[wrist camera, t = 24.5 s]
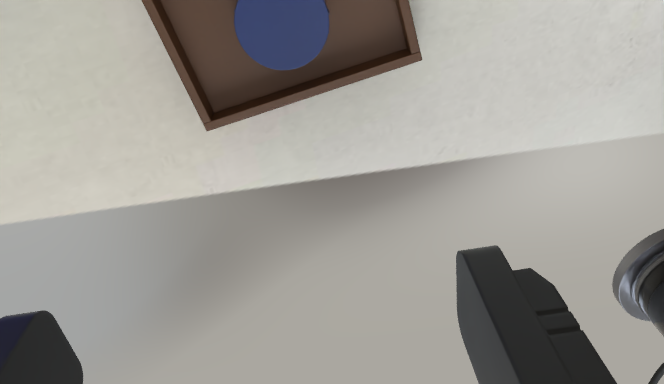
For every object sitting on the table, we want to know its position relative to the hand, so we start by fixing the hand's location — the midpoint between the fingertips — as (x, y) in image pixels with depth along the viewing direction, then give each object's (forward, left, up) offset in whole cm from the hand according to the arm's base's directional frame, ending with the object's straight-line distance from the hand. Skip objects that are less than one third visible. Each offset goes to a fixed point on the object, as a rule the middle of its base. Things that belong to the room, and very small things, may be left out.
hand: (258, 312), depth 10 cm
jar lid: (0, 0, -25) cm, 25 cm away
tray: (0, 0, -27) cm, 27 cm away
